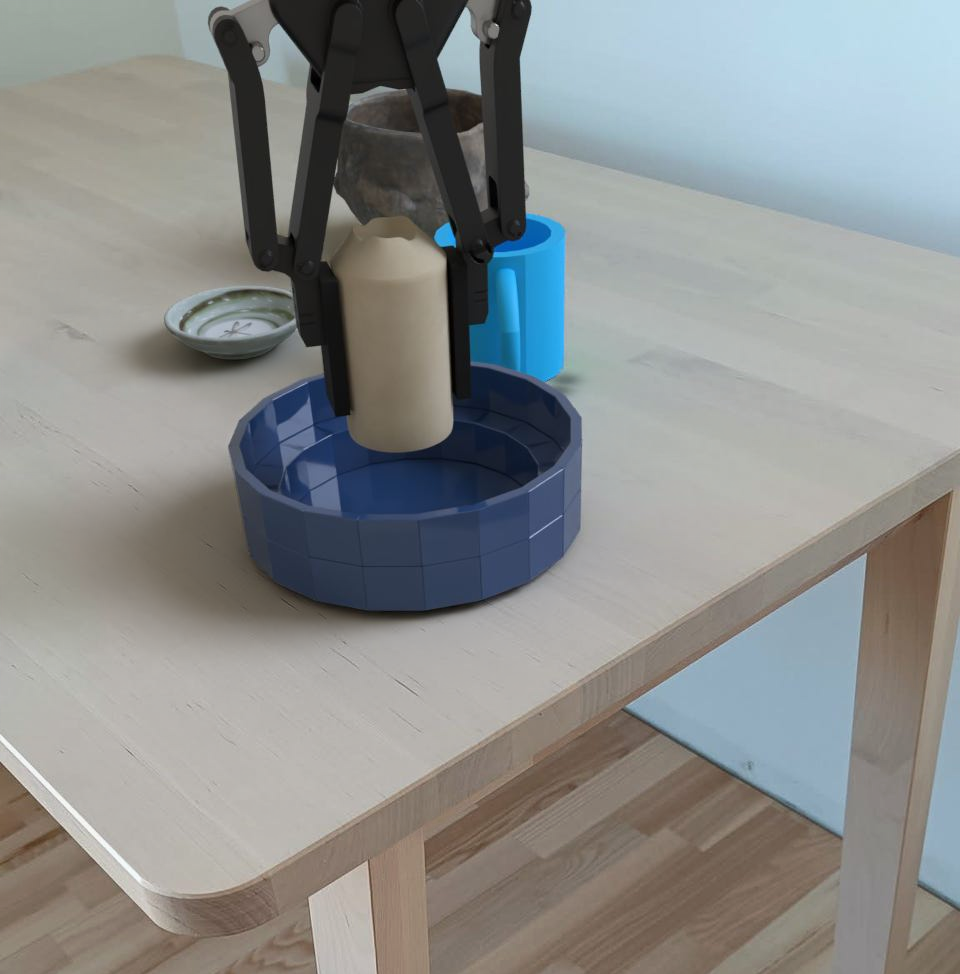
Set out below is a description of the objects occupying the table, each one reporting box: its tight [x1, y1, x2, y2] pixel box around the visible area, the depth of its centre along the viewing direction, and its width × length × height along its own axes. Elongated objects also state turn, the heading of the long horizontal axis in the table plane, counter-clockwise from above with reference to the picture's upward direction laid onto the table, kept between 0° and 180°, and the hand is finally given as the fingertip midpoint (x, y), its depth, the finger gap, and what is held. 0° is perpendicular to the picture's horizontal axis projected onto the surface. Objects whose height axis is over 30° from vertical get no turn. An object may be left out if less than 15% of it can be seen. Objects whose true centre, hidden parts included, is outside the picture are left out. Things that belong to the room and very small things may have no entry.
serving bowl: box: [227, 361, 583, 612], centre depth 68 cm, size 18×18×6 cm
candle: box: [329, 216, 453, 453], centre depth 62 cm, size 6×6×10 cm
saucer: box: [163, 285, 297, 360], centre depth 87 cm, size 10×10×2 cm
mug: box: [434, 212, 566, 383], centre depth 80 cm, size 12×8×8 cm
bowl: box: [333, 87, 530, 240], centre depth 97 cm, size 14×15×10 cm
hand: (398, 395), depth 65 cm, fingers closed on candle, 5 cm apart
